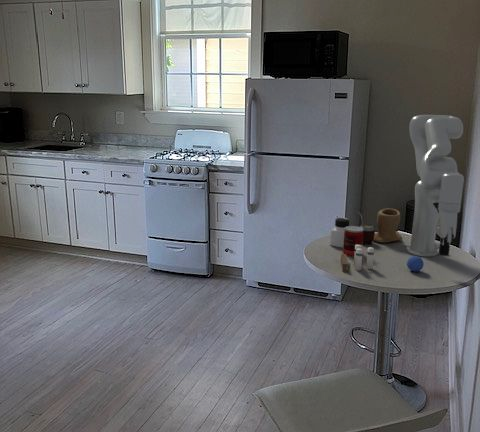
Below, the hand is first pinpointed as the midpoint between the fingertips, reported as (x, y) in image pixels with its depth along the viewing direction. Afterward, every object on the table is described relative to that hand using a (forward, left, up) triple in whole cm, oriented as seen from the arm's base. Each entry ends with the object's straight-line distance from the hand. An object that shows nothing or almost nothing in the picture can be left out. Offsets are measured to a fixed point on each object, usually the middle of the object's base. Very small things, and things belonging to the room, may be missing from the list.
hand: (443, 254), depth 191 cm
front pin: (+25, -8, -8) cm, 28 cm away
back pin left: (+30, -7, -8) cm, 32 cm away
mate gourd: (+15, -39, -8) cm, 43 cm away
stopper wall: (+35, -10, -8) cm, 37 cm away
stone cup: (+3, -42, -8) cm, 43 cm away
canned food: (+26, -25, -8) cm, 37 cm away
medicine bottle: (+27, -37, -8) cm, 47 cm away
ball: (+9, -3, -5) cm, 11 cm away
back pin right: (+29, -11, -8) cm, 32 cm away
